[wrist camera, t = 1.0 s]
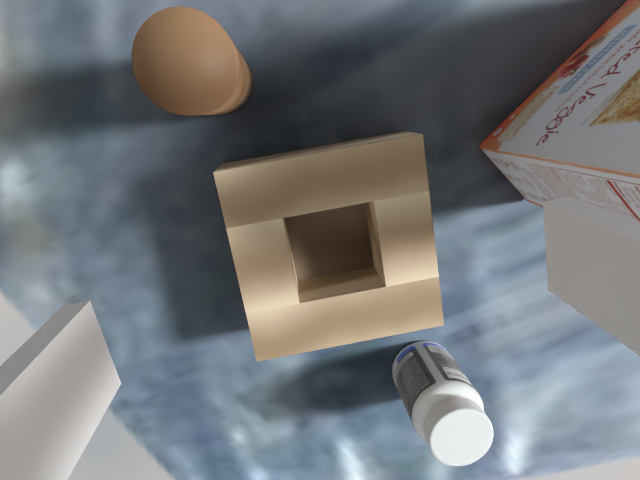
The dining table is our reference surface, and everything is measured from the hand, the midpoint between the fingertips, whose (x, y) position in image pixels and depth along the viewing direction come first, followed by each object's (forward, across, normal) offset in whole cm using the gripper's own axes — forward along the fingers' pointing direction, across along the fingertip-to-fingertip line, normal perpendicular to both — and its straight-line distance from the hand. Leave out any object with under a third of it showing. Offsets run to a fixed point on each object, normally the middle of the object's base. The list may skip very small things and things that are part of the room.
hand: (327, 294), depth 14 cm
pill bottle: (+19, +6, -16) cm, 26 cm away
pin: (+20, -4, +7) cm, 21 cm away
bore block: (+19, +1, -4) cm, 20 cm away
